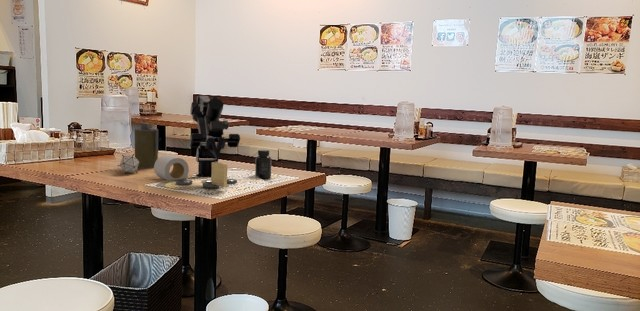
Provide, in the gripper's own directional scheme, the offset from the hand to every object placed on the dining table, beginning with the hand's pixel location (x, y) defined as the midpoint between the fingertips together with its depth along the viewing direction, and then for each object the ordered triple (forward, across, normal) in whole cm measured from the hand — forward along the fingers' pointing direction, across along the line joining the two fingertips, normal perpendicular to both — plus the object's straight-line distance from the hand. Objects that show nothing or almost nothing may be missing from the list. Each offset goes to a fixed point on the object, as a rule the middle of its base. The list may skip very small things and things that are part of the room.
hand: (217, 157), depth 187 cm
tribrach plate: (+8, -4, +7) cm, 12 cm away
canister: (-27, -23, +44) cm, 57 cm away
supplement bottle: (-2, +23, +19) cm, 29 cm away
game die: (-16, -30, +33) cm, 47 cm away
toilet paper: (-1, -16, +18) cm, 24 cm away
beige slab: (+15, -3, -1) cm, 15 cm away
